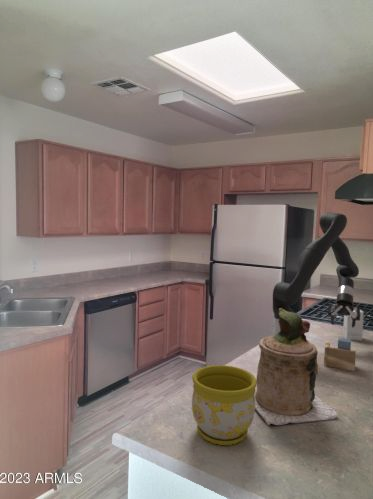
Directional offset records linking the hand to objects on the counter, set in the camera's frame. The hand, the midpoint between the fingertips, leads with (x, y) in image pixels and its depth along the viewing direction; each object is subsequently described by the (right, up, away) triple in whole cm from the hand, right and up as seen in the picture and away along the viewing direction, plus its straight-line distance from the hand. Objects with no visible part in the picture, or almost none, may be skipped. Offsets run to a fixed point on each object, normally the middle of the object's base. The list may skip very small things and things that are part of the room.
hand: (342, 325), depth 171 cm
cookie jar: (-40, -17, -48) cm, 65 cm away
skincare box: (+16, -12, +25) cm, 32 cm away
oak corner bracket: (-6, -14, -11) cm, 19 cm away
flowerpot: (-63, -17, -66) cm, 93 cm away
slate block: (-5, -15, -12) cm, 20 cm away
